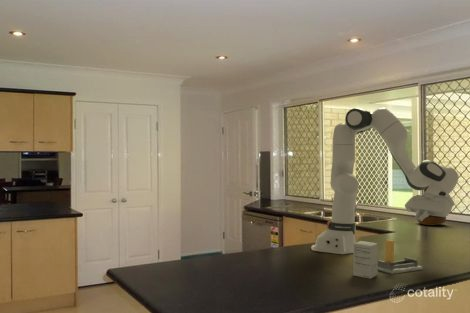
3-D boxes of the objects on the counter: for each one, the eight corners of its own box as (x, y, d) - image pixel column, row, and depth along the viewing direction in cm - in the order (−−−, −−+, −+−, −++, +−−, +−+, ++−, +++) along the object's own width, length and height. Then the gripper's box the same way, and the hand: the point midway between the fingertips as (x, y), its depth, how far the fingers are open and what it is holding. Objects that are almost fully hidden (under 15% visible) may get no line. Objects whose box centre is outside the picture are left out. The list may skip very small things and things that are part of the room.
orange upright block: (389, 265, 179) (390, 239, 179) (395, 267, 177) (396, 240, 177) (382, 266, 177) (383, 240, 178) (388, 268, 175) (389, 241, 175)
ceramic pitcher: (410, 223, 322) (411, 183, 323) (432, 222, 328) (432, 183, 329) (429, 227, 304) (430, 184, 304) (452, 226, 310) (452, 185, 310)
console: (403, 264, 188) (403, 256, 188) (422, 269, 179) (422, 260, 179) (373, 268, 180) (373, 259, 180) (391, 274, 171) (392, 264, 171)
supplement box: (360, 271, 173) (360, 240, 173) (378, 275, 168) (378, 243, 168) (352, 275, 167) (353, 243, 167) (370, 279, 163) (371, 245, 163)
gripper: (411, 190, 198) (395, 211, 193) (452, 194, 180) (435, 217, 175) (417, 199, 200) (402, 220, 195) (458, 204, 182) (442, 228, 177)
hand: (418, 219), depth 185 cm, fingers closed
